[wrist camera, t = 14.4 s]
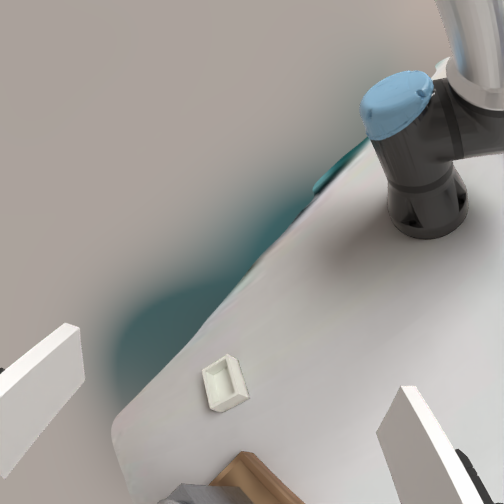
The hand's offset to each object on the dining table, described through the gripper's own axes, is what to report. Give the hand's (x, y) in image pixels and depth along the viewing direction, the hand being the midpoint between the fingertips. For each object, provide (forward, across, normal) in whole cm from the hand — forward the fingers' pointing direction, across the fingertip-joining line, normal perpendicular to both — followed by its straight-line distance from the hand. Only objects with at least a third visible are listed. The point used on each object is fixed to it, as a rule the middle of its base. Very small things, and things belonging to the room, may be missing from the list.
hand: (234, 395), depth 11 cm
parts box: (+33, 0, -26) cm, 42 cm away
